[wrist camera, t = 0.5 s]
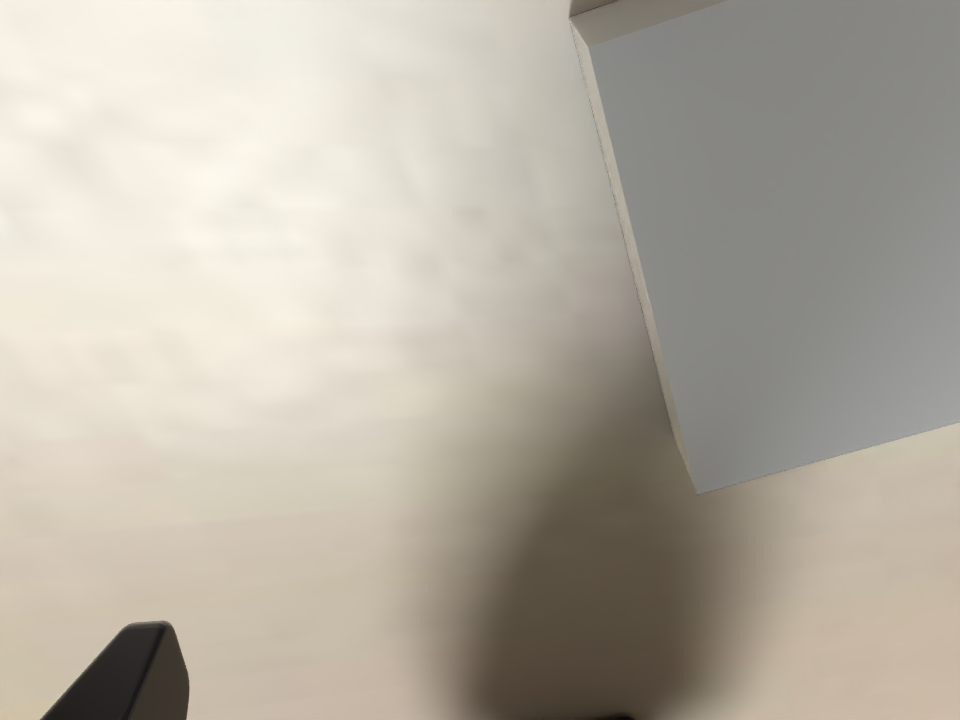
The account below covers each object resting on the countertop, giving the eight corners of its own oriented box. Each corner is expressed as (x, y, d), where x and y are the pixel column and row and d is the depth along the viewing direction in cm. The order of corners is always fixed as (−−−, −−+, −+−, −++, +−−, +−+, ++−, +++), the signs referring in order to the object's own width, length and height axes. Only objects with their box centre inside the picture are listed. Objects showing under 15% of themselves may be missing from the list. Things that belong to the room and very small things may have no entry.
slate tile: (1108, 312, 24) (1173, 363, 22) (673, 436, 26) (697, 494, 24) (1150, -182, 18) (1248, -176, 16) (569, 17, 19) (588, 47, 17)
